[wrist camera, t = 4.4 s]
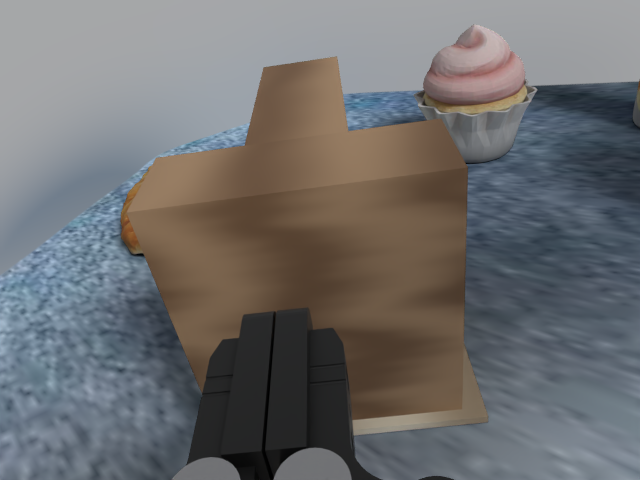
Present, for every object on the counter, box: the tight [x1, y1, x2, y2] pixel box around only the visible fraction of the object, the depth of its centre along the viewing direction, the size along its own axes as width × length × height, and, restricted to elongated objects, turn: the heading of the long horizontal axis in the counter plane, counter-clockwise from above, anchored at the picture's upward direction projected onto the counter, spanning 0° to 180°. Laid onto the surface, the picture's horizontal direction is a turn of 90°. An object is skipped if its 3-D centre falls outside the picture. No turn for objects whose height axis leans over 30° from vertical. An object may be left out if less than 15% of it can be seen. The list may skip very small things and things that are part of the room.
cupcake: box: [414, 25, 538, 163], centre depth 41 cm, size 9×9×10 cm
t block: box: [126, 57, 468, 420], centre depth 26 cm, size 11×14×12 cm
